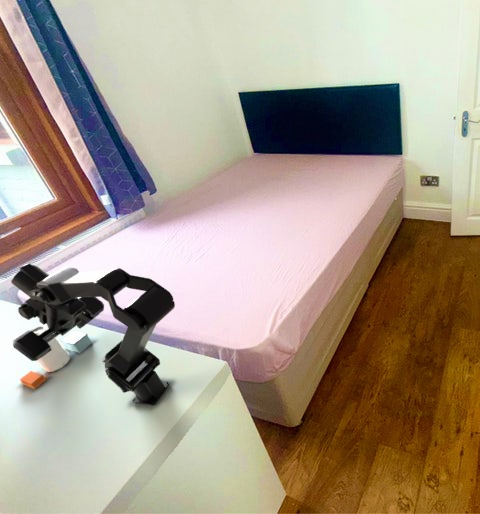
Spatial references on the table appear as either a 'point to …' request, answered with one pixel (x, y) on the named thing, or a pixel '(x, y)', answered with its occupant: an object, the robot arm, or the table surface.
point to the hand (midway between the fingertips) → (62, 339)
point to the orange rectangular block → (33, 379)
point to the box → (77, 341)
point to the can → (52, 354)
